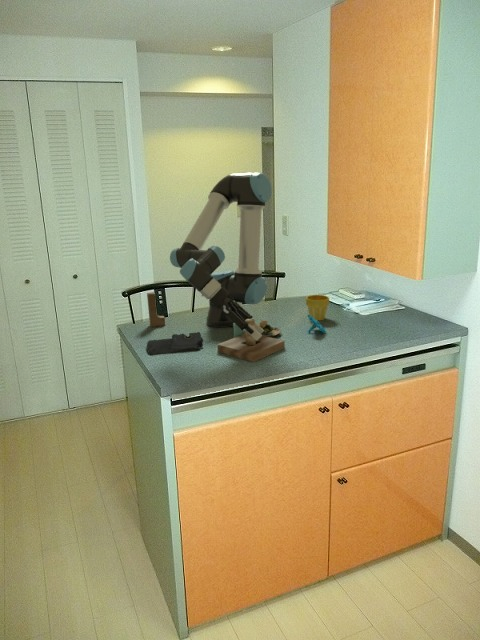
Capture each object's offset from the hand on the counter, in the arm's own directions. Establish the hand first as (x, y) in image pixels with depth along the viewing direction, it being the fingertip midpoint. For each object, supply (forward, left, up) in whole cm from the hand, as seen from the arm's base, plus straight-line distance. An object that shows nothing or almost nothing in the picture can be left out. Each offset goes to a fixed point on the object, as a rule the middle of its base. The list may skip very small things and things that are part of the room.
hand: (260, 335), depth 193 cm
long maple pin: (-3, -2, -6) cm, 7 cm away
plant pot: (-6, +47, -6) cm, 48 cm away
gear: (+5, +30, -6) cm, 31 cm away
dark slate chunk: (-30, -17, -7) cm, 35 cm away
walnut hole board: (-3, -2, -6) cm, 7 cm away
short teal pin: (-15, +4, -6) cm, 17 cm away
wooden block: (-59, -2, -6) cm, 59 cm away
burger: (-10, +16, -6) cm, 20 cm away
